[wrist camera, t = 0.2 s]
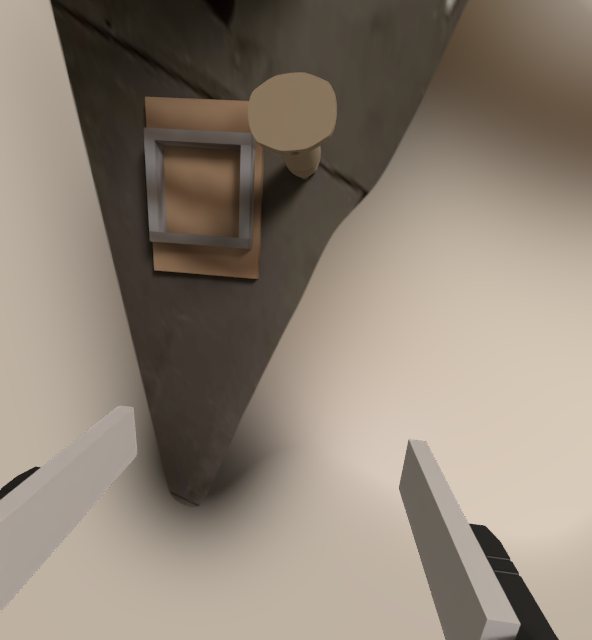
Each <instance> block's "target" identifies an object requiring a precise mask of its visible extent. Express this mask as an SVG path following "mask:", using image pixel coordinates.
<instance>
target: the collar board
mask: <svg viewBox="0 0 592 640" xmlns="http://www.w3.org/2000/svg"><path fill="white" fill-rule="evenodd" d="M248 105H249V101H233V100H210V99H187V98H164V97H145V108H146V126H147V128H144V146H145V164H146V182H147V200H148V218H149V236H150V241H153V257H154V270H158V271H170V272H182V273H194V274H205V275H217V276H229V277H241V278H253V279H258V278H259V269H260V243H261V218H262V192H263V167H264V147H262V146H260V145H259V143H258V142H257V141H256V139H255V138H254V136H253V134H252V132H251V129H250V126H249V120H248Z"/></svg>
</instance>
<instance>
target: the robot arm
mask: <svg viewBox="0 0 592 640" xmlns="http://www.w3.org/2000/svg"><path fill="white" fill-rule="evenodd" d="M136 456H137V443H136V432H135V420H134V408H133V407H126V406H117V407H116V408H115V409H114V410H112V411H111V412H110V413H108V414H107V415H106V416H105V417H103V418H102V419H101V420H100V421H99V422H97V423H96V424H95V425H93V426H92V427H91V428H90V429H88V430H87V431H86V432H85V433H83V434H82V435H81V436H80V437H79V438H77V439H76V440H75V441H74V442H72V443H71V444H70V445H69V446H67V447H66V448H65V449H63V450H62V451H61V452H60V453H58V454H57V455H56V456H55V457H54V458H52V459H51V460H50V461H48V462H47V463H46V464H45V465H44V466H42V467H34V468H32V469H30V470H28V471H26V472H24V473H22V474H20V475H19V476H17V477H15V478H14V479H13V480H12V481H10V482H9V483H8V484H7V485H5V486H4V487H3V488H1V490H0V612H1V611H2V610H3V609H4V608H5V607H6V605H7V604H8V603H9V602H10V601H11V600H12V599H13V598H14V596H15V595H16V594H17V593H18V592H19V591H20V589H21V588H22V587H23V586H24V585H25V584H26V583H27V581H28V580H29V579H30V578H31V577H32V576H33V574H34V573H35V572H36V571H37V570H38V569H39V568H40V566H41V565H42V564H43V563H44V562H45V561H46V560H47V558H48V557H49V556H50V555H51V554H52V552H54V550H55V549H56V548H57V547H58V546H59V544H60V543H61V542H62V541H63V540H64V539H65V538H66V537H67V535H68V534H69V533H70V532H71V531H72V530H73V528H74V527H75V526H76V525H77V524H78V523H79V521H80V520H81V519H82V518H83V517H84V516H85V515H86V514H87V512H88V511H89V510H90V509H91V508H92V507H93V506H94V504H95V503H96V502H97V501H98V500H99V499H100V497H101V496H102V495H103V494H104V493H105V492H106V490H107V489H108V488H109V487H110V486H111V485H112V484H113V483H114V481H115V480H116V479H117V478H118V477H119V476H120V474H121V473H122V472H123V471H124V470H125V469H126V467H127V466H128V465H129V464H130V463H131V462H132V461H133V460H134V458H135V457H136ZM399 490H400V493H401V497H402V500H403V503H404V506H405V510H406V513H407V516H408V519H409V523H410V525H411V529H412V532H413V535H414V539H415V542H416V545H417V548H418V552H419V555H420V558H421V561H422V565H423V568H424V571H425V574H426V578H427V581H428V584H429V587H430V591H431V594H432V597H433V600H434V604H435V607H436V610H437V613H438V616H439V619H440V623H441V626H442V629H443V633H444V636H445V639H446V640H559V639H558V638H557V637H556V635H555V634H554V632H553V630H552V628H551V627H550V625H549V623H548V621H547V620H546V618H545V617H544V615H543V613H542V611H541V610H540V608H539V606H538V605H537V603H536V602H535V600H534V598H533V596H532V594H531V593H530V591H529V589H528V588H527V586H526V584H525V583H524V581H523V579H522V578H521V577H520V576H519V573H518V571H517V569H516V568H515V566H514V564H513V562H511V561H510V557H509V556H508V554H507V552H506V551H505V549H504V547H503V545H502V544H501V542H500V541H499V540H498V539H497V538H496V537H495V536H494V535H493V533H492V532H491V531H490V530H489V529H488V528H487V527H486V526H483V525H476V524H469V523H468V522H467V520H466V518H465V516H464V514H463V512H462V510H461V508H460V506H459V504H458V502H457V501H456V499H455V497H454V494H453V493H452V491H451V489H450V487H449V485H448V483H447V481H446V479H445V477H444V475H443V473H442V471H441V469H440V467H439V466H438V464H437V462H436V460H435V458H434V456H433V454H432V452H431V450H430V448H429V446H428V444H427V442H426V441H420V440H419V441H418V440H411V439H409V441H408V446H407V450H406V455H405V460H404V466H403V471H402V476H401V480H400V485H399Z"/></svg>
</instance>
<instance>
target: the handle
mask: <svg viewBox="0 0 592 640" xmlns="http://www.w3.org/2000/svg"><path fill="white" fill-rule="evenodd" d="M336 116H337V104H336V97H335V93H334V91H333V89H332V87H331V85H330V84H329V82H327V81H325V80H323V79H321V78H318V77H316V76H314V75H311V74H308V73H303V72H297V73H288V74H281V75H277V76H274V77H273V78H271V79H269V80H267V81H266V82H265V83H263V84H262V85H260V86H259V87H258V88H256V89H255V90H254V91H253V92H252V94H251V97H250V100H249V105H248V120H249V126H250V129H251V132H252V134H253V136H254V138H255V139H256V141H257V142H258V143H259V145H260V146H262V147H264V148H266V149H268V150H270V151H273V152H275V153H278V154H281V155H282V158H283V160H284V163H285V165H286V166H287V168H288V169H289V170H290V171H291V172H292V173H293V174H294V175H296V176H298V177H301V178H302V179H308V177H309V176H310V175H312V174H313V173H314V172H316V171H317V168H318V165H319V162H320V156H321V150H320V146H321V145H322V144H324V143H325V142H326V141H328V140H329V139H330V137H331V135H332V133H333V131H334V128H335V123H336Z"/></svg>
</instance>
